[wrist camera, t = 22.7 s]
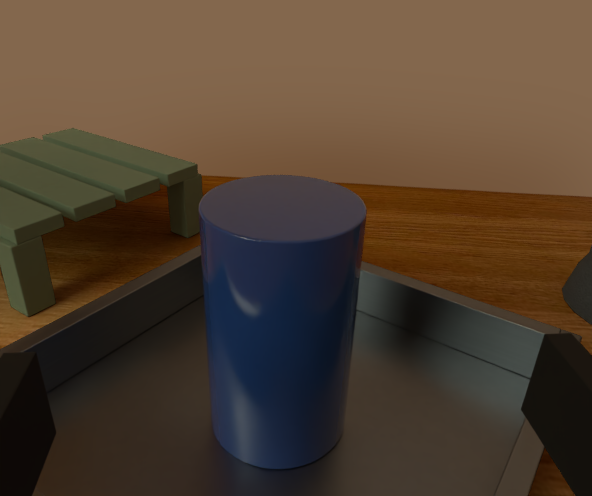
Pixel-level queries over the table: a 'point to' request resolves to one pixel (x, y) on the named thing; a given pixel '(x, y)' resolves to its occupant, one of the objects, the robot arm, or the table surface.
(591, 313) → the mug
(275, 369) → the navy blue cylinder
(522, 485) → the tray
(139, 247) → the table surface
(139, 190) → the rack
